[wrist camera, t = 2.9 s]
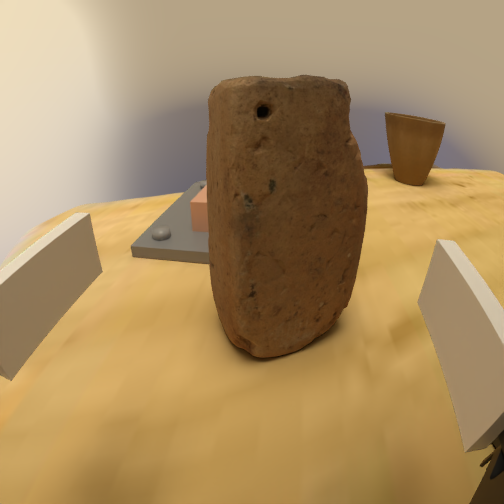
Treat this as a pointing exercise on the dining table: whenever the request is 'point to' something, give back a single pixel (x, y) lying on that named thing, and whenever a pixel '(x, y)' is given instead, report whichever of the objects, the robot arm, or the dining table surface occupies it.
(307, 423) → the dining table surface
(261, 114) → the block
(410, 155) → the plant pot
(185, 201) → the tower base
